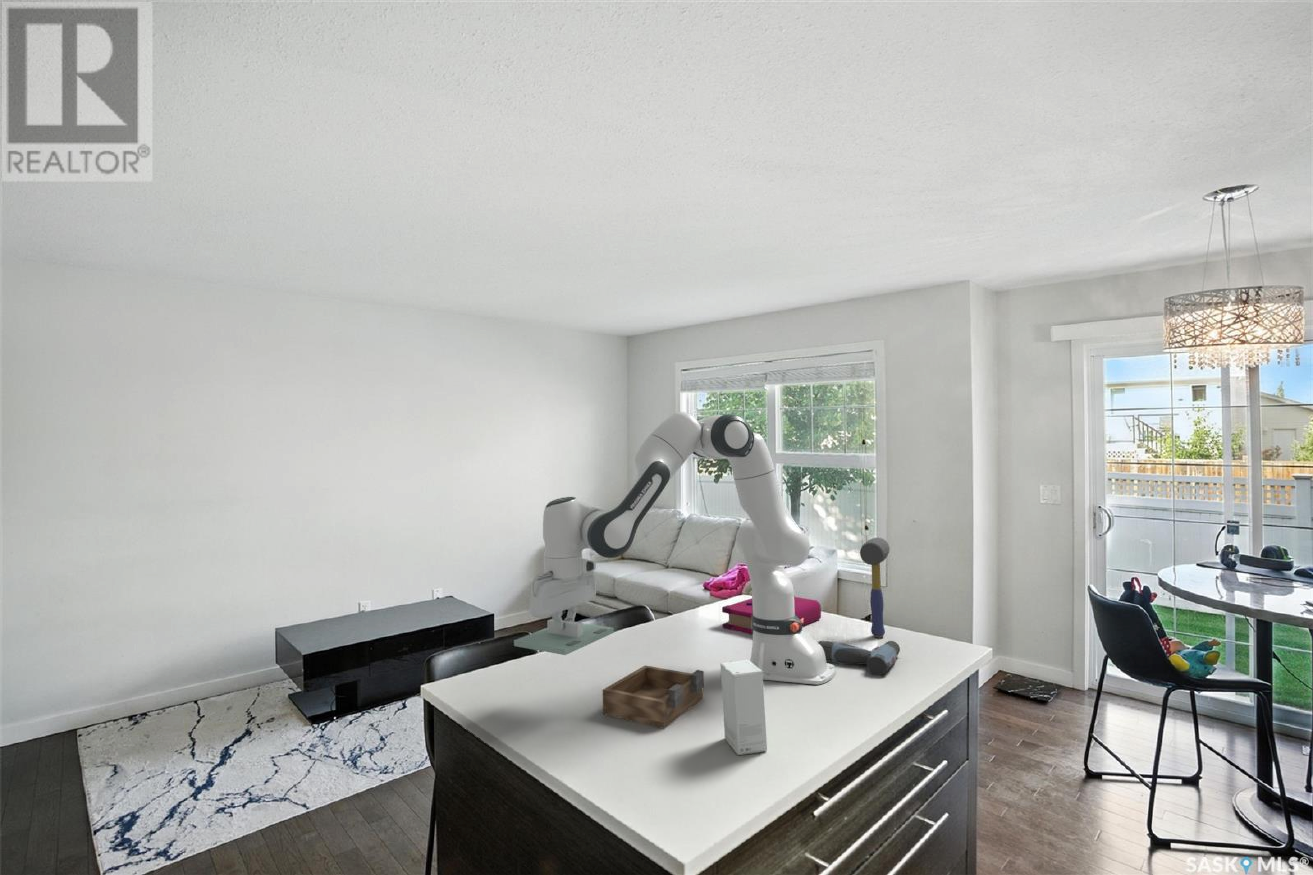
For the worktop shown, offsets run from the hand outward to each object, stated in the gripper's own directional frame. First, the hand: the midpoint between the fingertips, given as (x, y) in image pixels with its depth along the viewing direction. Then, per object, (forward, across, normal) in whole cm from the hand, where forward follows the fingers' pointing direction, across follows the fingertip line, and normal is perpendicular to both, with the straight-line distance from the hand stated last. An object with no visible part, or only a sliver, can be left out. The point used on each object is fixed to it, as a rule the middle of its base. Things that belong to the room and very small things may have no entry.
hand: (565, 627), depth 147 cm
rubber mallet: (+20, +87, -51) cm, 102 cm away
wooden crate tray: (+19, +11, -17) cm, 28 cm away
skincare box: (+19, +3, -43) cm, 47 cm away
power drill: (+20, +63, -51) cm, 83 cm away
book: (+20, +87, -16) cm, 91 cm away
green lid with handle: (+3, 0, 0) cm, 3 cm away
